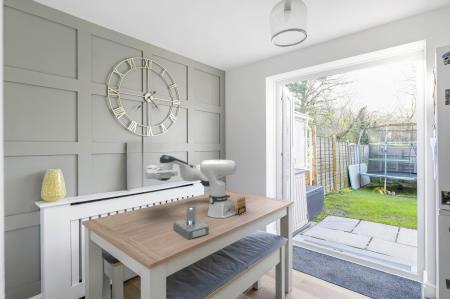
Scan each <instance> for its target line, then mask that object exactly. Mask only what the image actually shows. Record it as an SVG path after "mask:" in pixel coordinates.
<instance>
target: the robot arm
mask: <svg viewBox="0 0 450 299" xmlns="http://www.w3.org/2000/svg"><path fill="white" fill-rule="evenodd" d="M174 164H175V165H177V166H178V167H179V173H178V170H175V169H173V168H174ZM237 167H238V165H237V163H236V162H235V160H230V159H203V160H202V161H201V163H200V164H199V169H198V168H195V167H191V166H190V165H189V163H188V162H186V161H185V160H181V159H180V158H176V157H174V156H173V155H170V154H168V153H167V154H163V155H161V156H160V157H159V165H156V164H148V165H147V166H146V167H145V168H144V178H145V179H147V180H148V179H152V180H157V181H162V182H166V181H169V180H171V179H172V177H177V176H178V174H179V175H180V178H181V179H182V180H183V181H184V182H197V181H199V184H201V185H202V186H203V187H205V188H209V195H208V196H209V201H208V202H209V206H208V211H207V214H206V216H208V217H210V218H216V219H218V218H219V219H220V218H221V219H227V218H230V217H232V216H236V215H235V214H236V208H235V207H236V206H235V204H234V203H233V202H232V201H230V200H229V199H231V195H230V194H227V192H226V191H227V185H226V182H225V181H223V180H221V178H223V177H226V176H232V175H235V173H236V172H237V169H238V168H237Z"/></svg>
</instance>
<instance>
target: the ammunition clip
mask: <svg viewBox="0 0 450 299" xmlns="http://www.w3.org/2000/svg"><path fill="white" fill-rule="evenodd" d="M235 207H236V208H235V210H236V215H239V216H241V215H243V214H242V213H244V212H246V213H247V205H246V196H243V197H239V198H237V199H236V206H235ZM240 214H241V215H240ZM244 214H245V213H244ZM236 215H235V216H236Z"/></svg>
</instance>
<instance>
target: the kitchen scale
mask: <svg viewBox="0 0 450 299" xmlns="http://www.w3.org/2000/svg"><path fill="white" fill-rule="evenodd" d="M172 230H174V231H175V232H176V233H178V234H179V235H181V236H182V237H183V238H184V239H187V240H192V239H196V238H199V237H203V236H207V235H210V232H209V231H210V227H209V226H208V224H206V223H204V222H201V221H200V220H198V219H196V218H195V224H194V225H188V224H186V219H180V220H177V221H174V222H173V229H172Z"/></svg>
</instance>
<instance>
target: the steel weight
mask: <svg viewBox="0 0 450 299" xmlns="http://www.w3.org/2000/svg"><path fill="white" fill-rule="evenodd" d="M196 212H197V208H196V206H187V207H186V224H188V225H194V224H195V219H196Z"/></svg>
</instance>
